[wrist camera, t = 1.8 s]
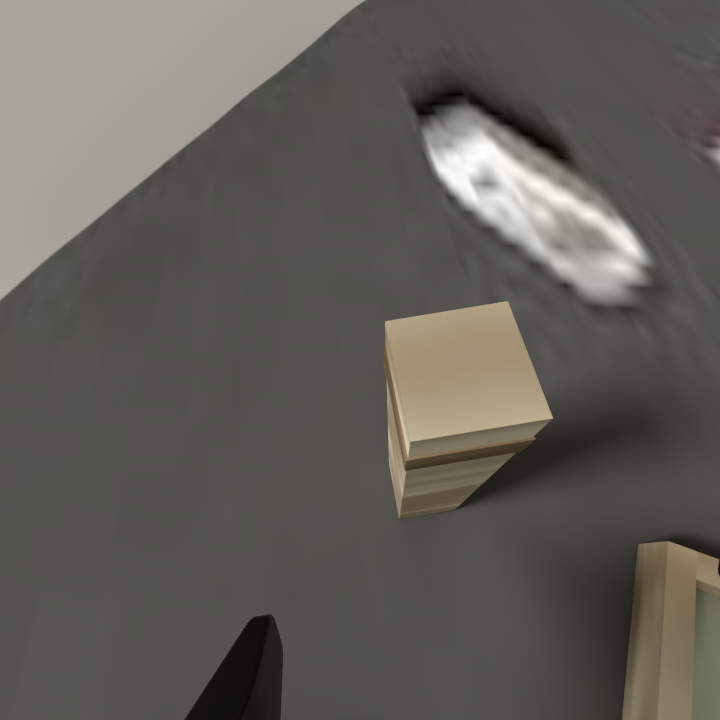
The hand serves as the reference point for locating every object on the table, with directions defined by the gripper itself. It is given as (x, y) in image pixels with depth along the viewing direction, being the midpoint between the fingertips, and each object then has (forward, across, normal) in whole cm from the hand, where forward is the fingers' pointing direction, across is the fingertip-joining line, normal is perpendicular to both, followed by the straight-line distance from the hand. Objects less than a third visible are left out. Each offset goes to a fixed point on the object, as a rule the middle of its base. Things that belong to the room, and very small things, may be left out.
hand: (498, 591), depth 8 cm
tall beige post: (+10, 0, +5) cm, 11 cm away
